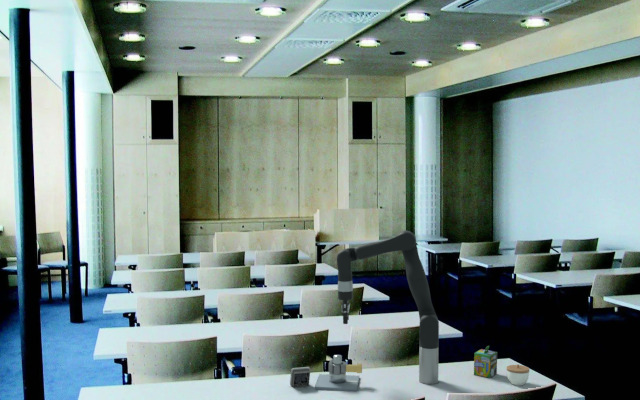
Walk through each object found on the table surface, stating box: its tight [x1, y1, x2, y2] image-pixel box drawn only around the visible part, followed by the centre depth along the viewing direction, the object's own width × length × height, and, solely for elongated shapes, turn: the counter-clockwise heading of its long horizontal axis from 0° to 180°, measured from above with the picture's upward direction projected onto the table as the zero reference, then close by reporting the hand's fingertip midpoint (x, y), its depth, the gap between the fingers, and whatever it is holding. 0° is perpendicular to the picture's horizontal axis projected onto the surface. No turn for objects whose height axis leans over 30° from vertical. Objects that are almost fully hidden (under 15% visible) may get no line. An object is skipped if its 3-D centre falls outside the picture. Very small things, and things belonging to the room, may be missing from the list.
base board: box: [314, 358, 360, 392], centre depth 347 cm, size 20×20×10 cm
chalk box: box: [473, 345, 498, 379], centre depth 362 cm, size 9×9×15 cm
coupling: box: [328, 361, 363, 374], centre depth 346 cm, size 16×8×4 cm, turn 83°
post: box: [328, 354, 347, 384], centre depth 347 cm, size 8×8×12 cm
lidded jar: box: [506, 364, 530, 387], centre depth 348 cm, size 11×11×9 cm
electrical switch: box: [289, 366, 311, 388], centre depth 343 cm, size 9×5×9 cm, turn 107°
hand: (346, 322), depth 356 cm, fingers open, 8 cm apart
